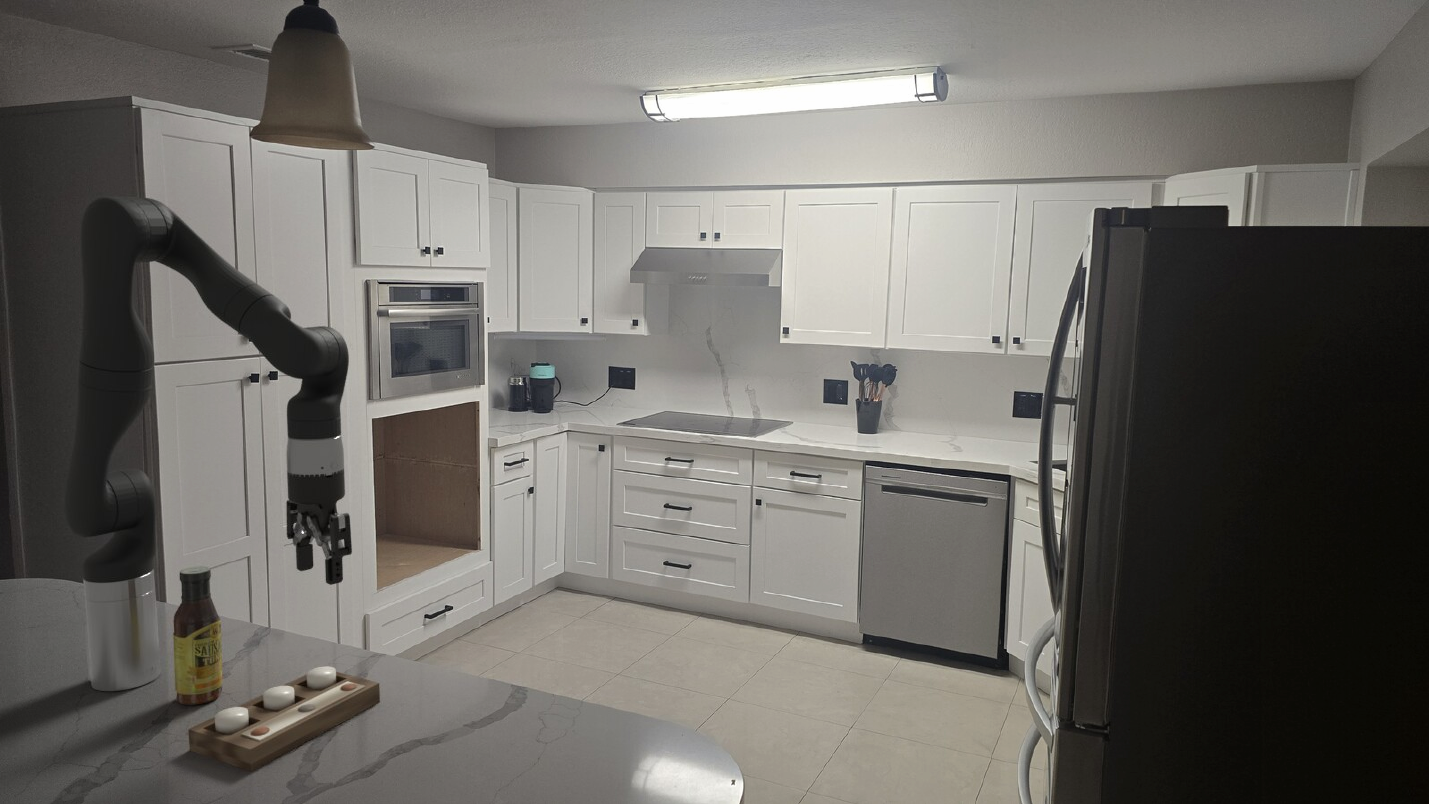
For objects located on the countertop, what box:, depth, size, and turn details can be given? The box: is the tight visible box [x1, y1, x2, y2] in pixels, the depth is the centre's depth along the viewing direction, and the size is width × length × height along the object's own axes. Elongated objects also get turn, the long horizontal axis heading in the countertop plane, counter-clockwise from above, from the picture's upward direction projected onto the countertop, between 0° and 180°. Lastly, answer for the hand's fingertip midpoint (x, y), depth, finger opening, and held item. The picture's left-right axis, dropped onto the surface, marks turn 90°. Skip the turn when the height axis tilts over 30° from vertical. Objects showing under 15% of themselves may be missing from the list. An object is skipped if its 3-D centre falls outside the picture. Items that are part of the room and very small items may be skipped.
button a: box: [306, 665, 337, 691], centre depth 138 cm, size 4×4×2 cm
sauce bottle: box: [172, 565, 224, 706], centre depth 137 cm, size 7×6×20 cm
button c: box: [214, 706, 249, 735], centre depth 124 cm, size 4×4×2 cm
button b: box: [262, 685, 295, 712], centre depth 131 cm, size 4×4×2 cm
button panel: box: [187, 671, 381, 772], centre depth 130 cm, size 12×22×3 cm, turn 155°
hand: (319, 576), depth 133 cm, fingers open, 8 cm apart
